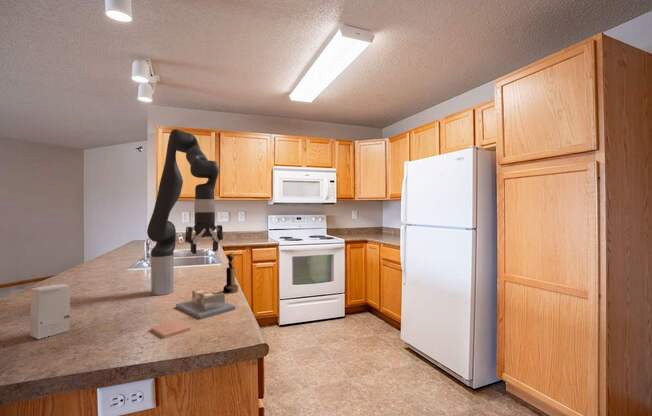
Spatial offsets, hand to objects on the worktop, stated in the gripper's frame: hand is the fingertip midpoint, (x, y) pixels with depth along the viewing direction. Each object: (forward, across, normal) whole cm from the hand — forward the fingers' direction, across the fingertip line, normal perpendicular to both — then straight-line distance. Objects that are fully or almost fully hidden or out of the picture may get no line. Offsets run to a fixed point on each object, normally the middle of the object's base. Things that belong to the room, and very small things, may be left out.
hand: (204, 252), depth 122 cm
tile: (+22, +18, +7) cm, 29 cm away
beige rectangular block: (+21, 0, 0) cm, 21 cm away
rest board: (+22, 0, 0) cm, 22 cm away
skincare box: (+22, +44, -14) cm, 51 cm away
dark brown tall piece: (+22, -20, -14) cm, 33 cm away
